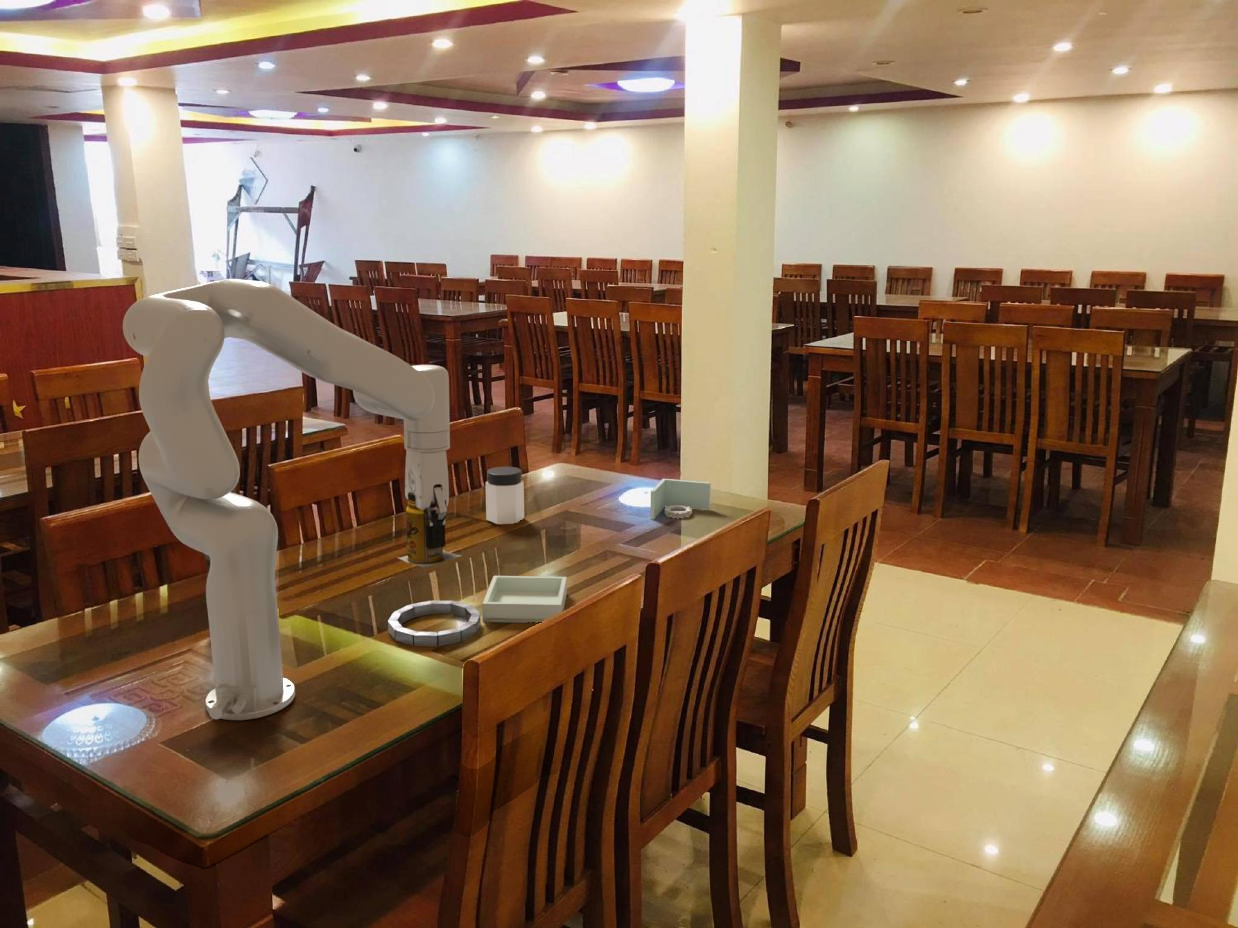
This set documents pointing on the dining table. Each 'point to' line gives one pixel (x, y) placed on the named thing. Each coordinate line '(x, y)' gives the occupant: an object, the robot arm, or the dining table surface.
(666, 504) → the right angle wall
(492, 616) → the bin
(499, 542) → the dining table surface
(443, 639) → the collar
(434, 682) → the dining table surface
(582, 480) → the dining table surface
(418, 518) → the condiment
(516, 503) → the jar
